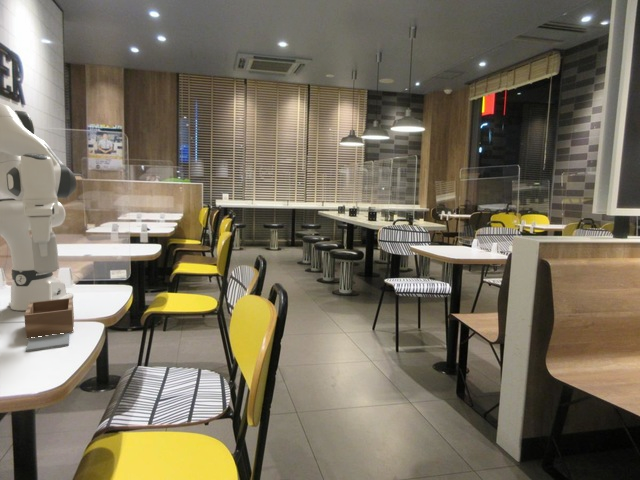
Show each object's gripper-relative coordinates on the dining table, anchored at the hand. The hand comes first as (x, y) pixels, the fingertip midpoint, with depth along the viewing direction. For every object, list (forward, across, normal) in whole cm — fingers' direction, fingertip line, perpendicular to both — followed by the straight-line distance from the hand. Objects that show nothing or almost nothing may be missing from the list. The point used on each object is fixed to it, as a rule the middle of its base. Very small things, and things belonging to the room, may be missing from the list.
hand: (45, 254), depth 133 cm
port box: (+24, -3, 0) cm, 24 cm away
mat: (+24, +12, 0) cm, 27 cm away
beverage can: (+6, 0, 0) cm, 6 cm away
